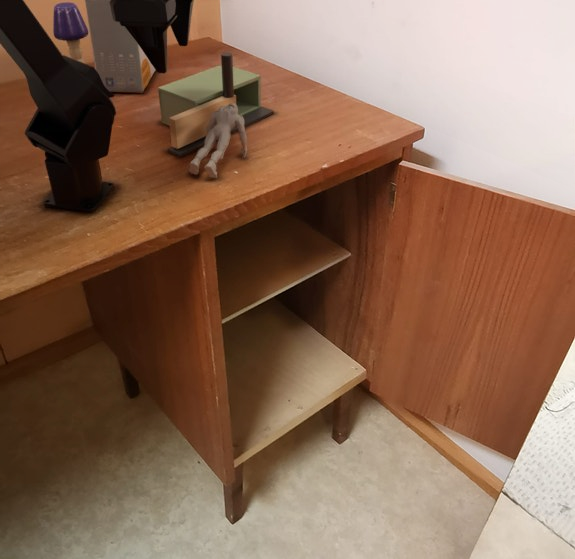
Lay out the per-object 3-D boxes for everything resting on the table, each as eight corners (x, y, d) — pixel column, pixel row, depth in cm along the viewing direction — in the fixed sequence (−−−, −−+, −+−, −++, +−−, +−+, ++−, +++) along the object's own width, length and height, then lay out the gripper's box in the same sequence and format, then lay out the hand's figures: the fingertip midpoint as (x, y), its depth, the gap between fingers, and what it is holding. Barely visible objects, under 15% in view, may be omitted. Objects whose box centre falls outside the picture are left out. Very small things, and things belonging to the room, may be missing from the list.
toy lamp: (95, 129, 90) (73, 10, 80) (66, 126, 91) (40, 7, 81) (109, 116, 94) (90, 1, 84) (81, 113, 95) (58, -2, 84)
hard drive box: (144, 94, 101) (127, -39, 89) (98, 93, 101) (75, -40, 89) (160, 63, 113) (148, -58, 101) (119, 61, 113) (102, -59, 101)
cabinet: (180, 157, 84) (176, 119, 80) (130, 135, 89) (125, 99, 86) (273, 113, 96) (274, 79, 93) (225, 96, 101) (224, 63, 98)
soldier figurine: (229, 193, 81) (259, 130, 87) (222, 166, 76) (254, 101, 82) (186, 185, 83) (218, 123, 88) (176, 157, 78) (211, 94, 84)
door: (178, 149, 84) (171, 76, 78) (170, 146, 85) (163, 73, 78) (238, 122, 91) (235, 53, 85) (230, 119, 92) (227, 51, 86)
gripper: (203, -63, 59) (217, 92, 69) (243, -98, 73) (250, 35, 83) (94, -65, 60) (123, 87, 70) (154, -99, 74) (171, 32, 84)
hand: (173, 58), depth 77 cm, fingers open, 9 cm apart
